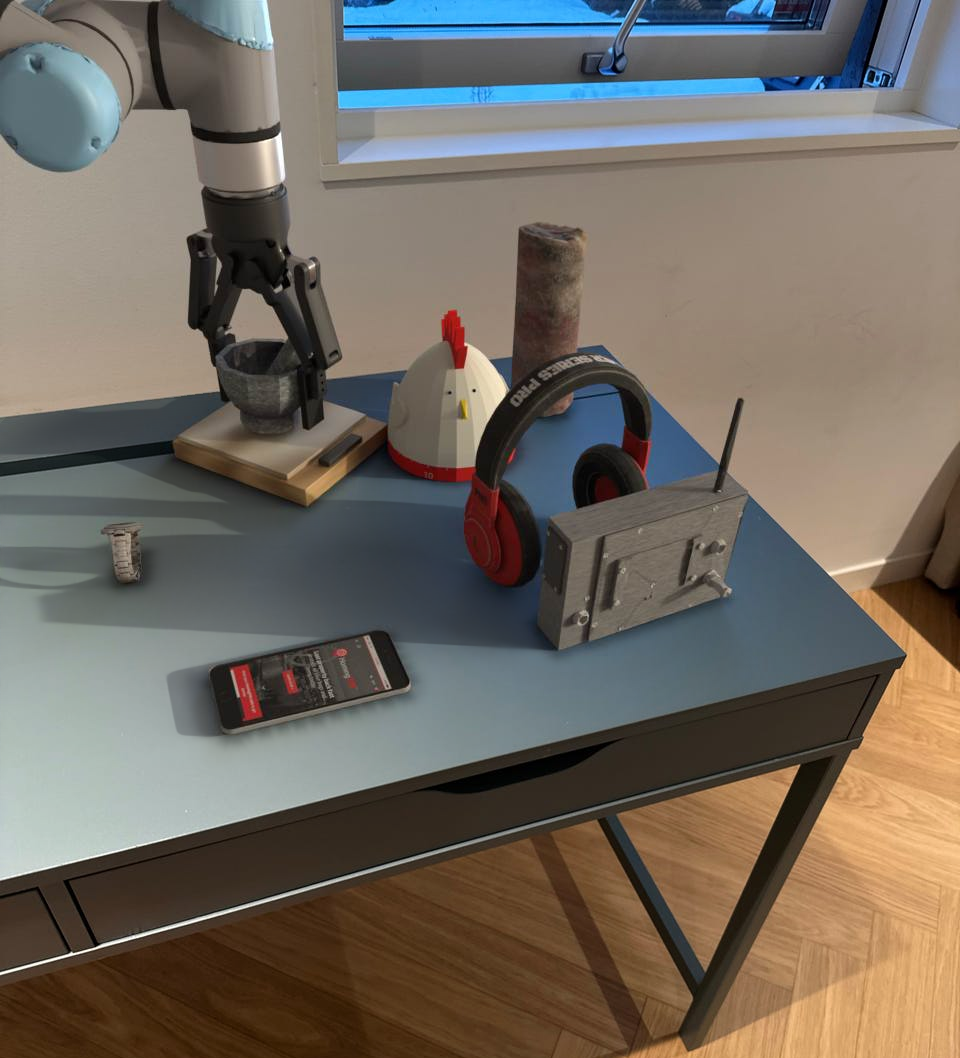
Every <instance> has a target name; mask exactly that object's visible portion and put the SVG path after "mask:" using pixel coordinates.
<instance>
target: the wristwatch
mask: <svg viewBox="0 0 960 1058" xmlns="http://www.w3.org/2000/svg"><path fill="white" fill-rule="evenodd" d="M142 530H143V525H142V524H141V523H140V522H137V521H135V522H134V521H133V522H121V523H113V524H107V525H105V526H103V529H100V534H101V535H107V536H108V540H109V543H110V548H111V553H112V558H113V559H112V560H113V562H112V563H113V566H114V567H113V569H114V573H115V576H116V579H117V581H118V582H119V583H120V584H127V583H136V582H139V581H140V577H141V575H142V572H143V571H142V567H143V566H142V551H141V546H140V538H139V532H140V531H142Z"/></svg>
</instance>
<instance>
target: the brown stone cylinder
mask: <svg viewBox="0 0 960 1058" xmlns="http://www.w3.org/2000/svg"><path fill="white" fill-rule="evenodd" d="M517 234H518V236H517V257H516V258H517V259H516V281H515V303H514V319H513V320H514V321H513V322H514V323H513V324H514V325H513V335H512V336H513V337H512V338H513V339H512V353H511V354H512V355H511V377H510V379H511V381H510V390H511V389H512V388H513V387H514V386H515V385H516V384H517V383H518V382H519V381H520V380H521V379H522V378H524V377H525V376H526V375H527V374H529V373H530V372H531V371H532V370H534V369H535V368H537V367H538V366H540V365H542V364H544V363H546V362H548V361H549V360H551V359H554V358H557V357H560V356H563V355H566V354H571V353H576V352H578V342H579V341H578V340H579V329H580V320H581V319H580V318H581V305H582V295H583V283H584V273H585V263H586V262H585V261H586V251H587V250H586V249H587V239H588V234H587V231H586V229H584V228H583V227H581V226H576V227H573V226H572V227H571V226H568V225H562V226H561V225H558V224H553V223H550V222H547V221H546V222H545V221H537V222H532V223H527V224H524V225H521V226H519V227H518V233H517ZM574 392H575V391H574ZM574 392H572V393H570V394H568V395H566V396H565V397H563V398H561V399H560V400H559V401H557V402H556V403H555V404H553V405H552V406H550V407H549V408H548V409H547V410H546V411H545V412H544V413H542V414H541V415H540V416H539V417H538V418H547V417H551V416H553V415H559V414H563V413H564V412H565V411H566V410H567V409H568V407H569V406H570V405H571V404H572V402H573V401H574Z"/></svg>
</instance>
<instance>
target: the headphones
mask: <svg viewBox="0 0 960 1058" xmlns="http://www.w3.org/2000/svg"><path fill="white" fill-rule="evenodd" d="M595 385H609V386H611V387H613V388H614V389H615V390H616V391H617V392H618V395H619V398H620V401H621V408H622V413H623V419H624V420H623V421H624V426H623V432H622V433H623V435H622V440H621V446H618V445H616V444H613V443H607V442H604V443H603V442H602V443H598V444H595V445H591V446H589V447H588V448H586V449H584V451H583V452H582V453H581V454H580V455H579V457H578V458H577V461H576V463H575V465H574V469H573V473H572V484H571V486H572V488H571V489H572V494H573V500H574V504H575V508H576V509H579V508H583V507H586V506H590V505H593V504H597V503H600V502H604V501H608V500H611V499H615V498H618V497H622V496H626V495H629V494H633V493H636V492H640V491H644V490H647V489H650V486H649V483H648V480H647V478H646V476H645V475H646V471H647V468H648V464H649V459H650V453H651V446H652V439H651V438H650V437H651V434H652V429H653V410H652V401H651V399H650V396H649V395H650V394H649V393H648V391H647V389H646V387H645V385H644V384H643V383H642V382H641V380H640V379H639V378H638V377H637V376H636V375H635V374H634V373H632V372H631V371H629V370H628V369H626V368H625V367H624V366H622V365H621V364H619V363H618V362H616V361H614V360H613V359H611V358H610V357H608V356H607V355H604V354H600V353H598V352H594V351H577V352H576V353H571V354H566V355H563V356H560V357H557V358H554V359H551V360H549V361H548V362H546V363H544V364H542V365H540V366H538V367H537V368H535V369H534V370H532V371H531V372H530V373H529V374H527V375H526V376H525V377H524V378H522V379H521V380H520V381H519V382H518V383H517V384H516V385H515V386H514V387H513V388H512V389H511V388H510V389H509V390H510V391H509V392H508V393H507V394H506V396H505V397H504V398H503V400H502V401H501V402H500V404H499V405H498V406H497V407H496V409H495V411H494V412H493V414H492V416H491V417H490V419H489V421H488V423H487V424H486V427H485V429H484V432H483V434H482V436H481V439H480V442H479V446H478V449H477V452H476V459H475V470H476V471H475V472H473V474H472V480H471V483H470V484H471V485H470V487H471V488H470V492H469V494H468V497H467V500H466V503H465V507H464V513H463V515H464V519H463V524H462V529H463V530H462V532H463V533H462V534H463V538H464V542H465V545H466V548H467V551H468V553H469V555H470V557H471V558H472V560H473V561H474V563H475V564H476V566H478V567H479V568H480V569H481V570H482V571H483V572H484V574H485V575H486V576H487V577H488V578H490V579H491V580H492V581H493V582H496V583H497V584H498V585H500V586H502V587H505V588H507V589H515V588H522V587H523V586H525V585H527V584H528V583H529V582H531V581H533V580H534V578H535V577H536V575H537V574H538V571H539V569H540V565H541V563H542V553H543V551H542V549H543V548H542V547H543V545H542V539H541V533H540V529H539V525H538V523H537V518H536V516H535V514H534V512H533V510H532V507H531V506H530V504H529V502H528V501H527V499H526V497H525V495H524V494H523V493H522V492H520V490H519V489H518V488H517V487H516V486H515V485H513V484H512V483H510V482H509V481H507V480H505V479H503V476H504V474H505V472H506V470H507V467H508V464H509V463H510V462H509V459H510V457H511V455H512V453H513V451H514V449H515V450H516V447H517V445H518V444H519V442H520V440H521V439H522V438H523V436H524V435H525V433H526V432H527V431H528V430H529V429H530V428H531V426H533V424H534V423H535V422H536V421H537V419H538V418H540V417H539V416H540V415H541V414H542V413H544V412H545V411H546V410H547V409H548V408H549V407H550V406H552V405H553V404H555V403H556V402H557V401H559V400H560V399H561V398H563V397H565V396H566V395H568V394H570V393H572V392H575V391H578V390H581V389H584V388H586V387H589V386H595ZM514 452H515V451H514ZM508 462H509V463H508Z"/></svg>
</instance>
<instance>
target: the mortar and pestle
mask: <svg viewBox="0 0 960 1058" xmlns="http://www.w3.org/2000/svg"><path fill="white" fill-rule="evenodd" d="M312 355H313V353H311V356H312ZM215 359H216V367H217V371H216V373H217V372H218V375H219V379H220V382H221V385H222V387H223V388H224V390H225V392H226V394H227V396H228V397H229V399H230V400H231V401H230V402H232V403H233V404H234V406H235V407H236V408H238V409H239V410H240V420H241V422H242V424H243V426H244V428H246V429H249V430H251V431H254V432H257V433H259V434H279V433H283V432H286V431H289V430H292V429H295V427H296V426H297V425H298V423H299V422H300V421H301V416H300V411H299V408H300V397H299V388H298V378H297V369H298V368H300V367H301V366H303V365H302V363H301V361H300V359H299V357H298V355H297V353H296V352H295V350H294V348H293V346H292V344H291V342H290V340H289V338H288V337H287V339H284V338H256V337H255V338H254V337H253V338H250V339H245V340H241V341H238V342H237V341H236V343H233V344H229V345H227V346H226V347H225V348H224V349H223V350H222V351H221V352H220V353H219V354H218V355H217V356H216V357H215ZM216 367H215V368H216Z"/></svg>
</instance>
